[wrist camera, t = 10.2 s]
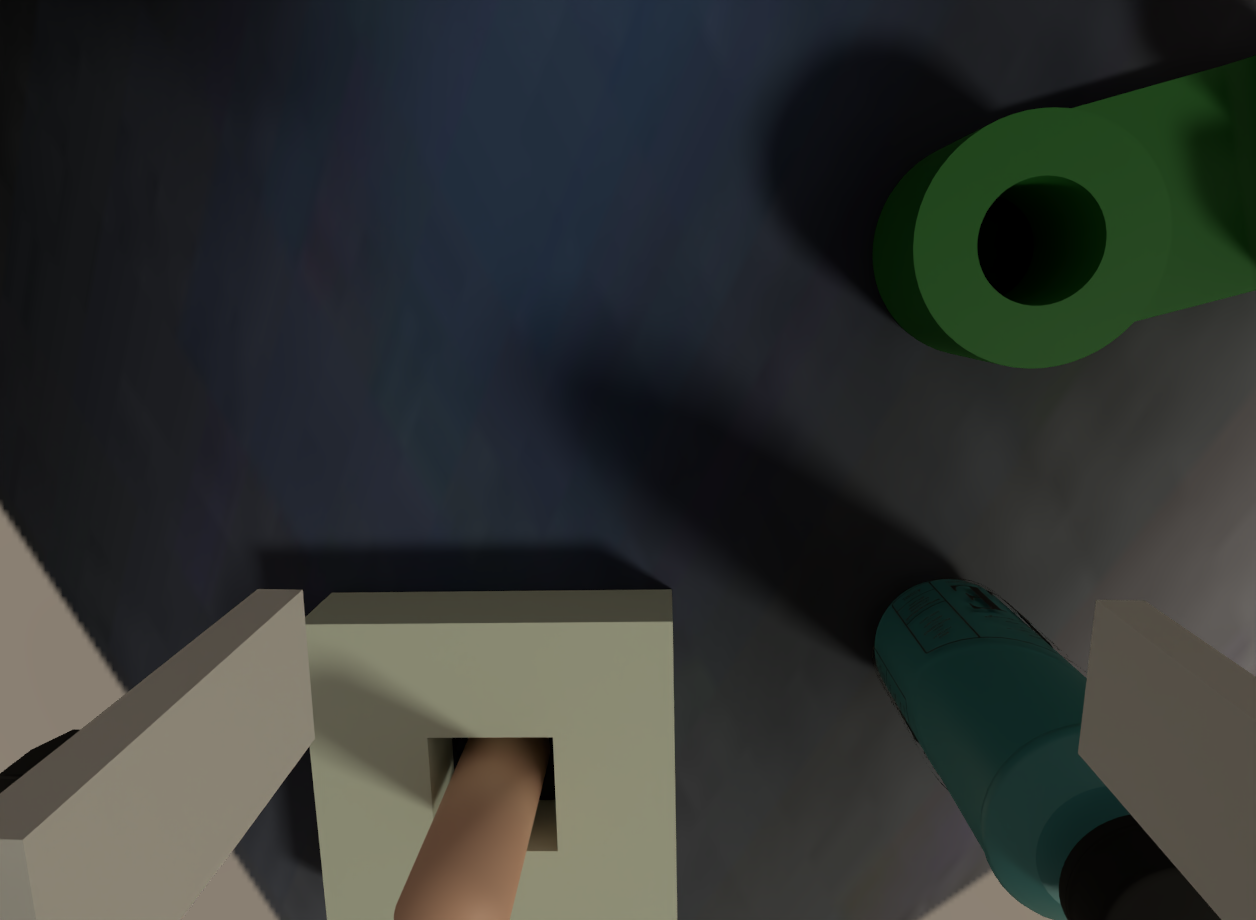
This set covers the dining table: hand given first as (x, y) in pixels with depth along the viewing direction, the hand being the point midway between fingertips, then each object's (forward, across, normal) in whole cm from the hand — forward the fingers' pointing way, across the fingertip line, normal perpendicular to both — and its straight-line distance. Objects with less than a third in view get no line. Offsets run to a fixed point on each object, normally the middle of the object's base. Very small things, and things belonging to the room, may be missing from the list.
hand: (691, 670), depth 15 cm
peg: (+25, -8, -16) cm, 31 cm away
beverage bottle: (+25, +12, -10) cm, 30 cm away
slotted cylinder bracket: (+26, +17, +8) cm, 32 cm away
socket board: (+25, -8, -16) cm, 31 cm away
